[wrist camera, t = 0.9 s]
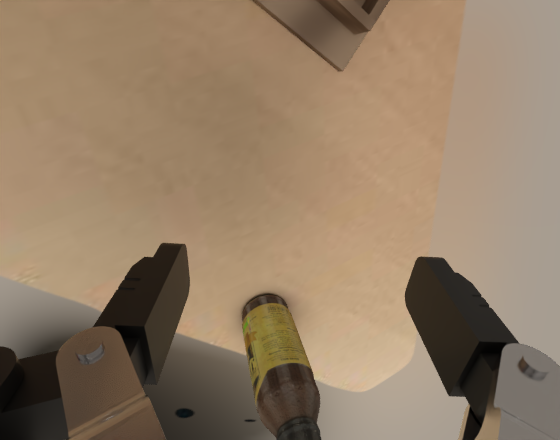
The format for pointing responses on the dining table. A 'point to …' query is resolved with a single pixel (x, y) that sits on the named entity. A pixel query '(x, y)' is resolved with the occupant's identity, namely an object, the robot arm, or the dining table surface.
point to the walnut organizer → (327, 24)
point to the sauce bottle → (280, 371)
